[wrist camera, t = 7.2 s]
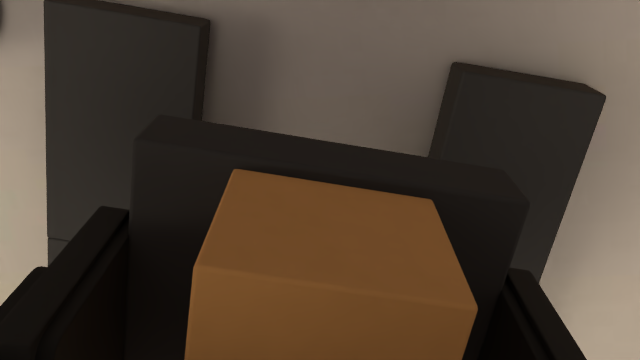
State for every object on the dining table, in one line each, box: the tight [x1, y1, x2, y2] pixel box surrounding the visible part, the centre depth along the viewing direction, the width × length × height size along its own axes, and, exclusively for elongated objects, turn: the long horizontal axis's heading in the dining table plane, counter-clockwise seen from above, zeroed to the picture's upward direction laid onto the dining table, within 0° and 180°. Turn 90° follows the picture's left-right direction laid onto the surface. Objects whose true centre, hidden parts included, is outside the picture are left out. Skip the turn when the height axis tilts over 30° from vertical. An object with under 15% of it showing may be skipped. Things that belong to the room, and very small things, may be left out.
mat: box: [44, 0, 606, 284], centre depth 20 cm, size 20×16×2 cm
